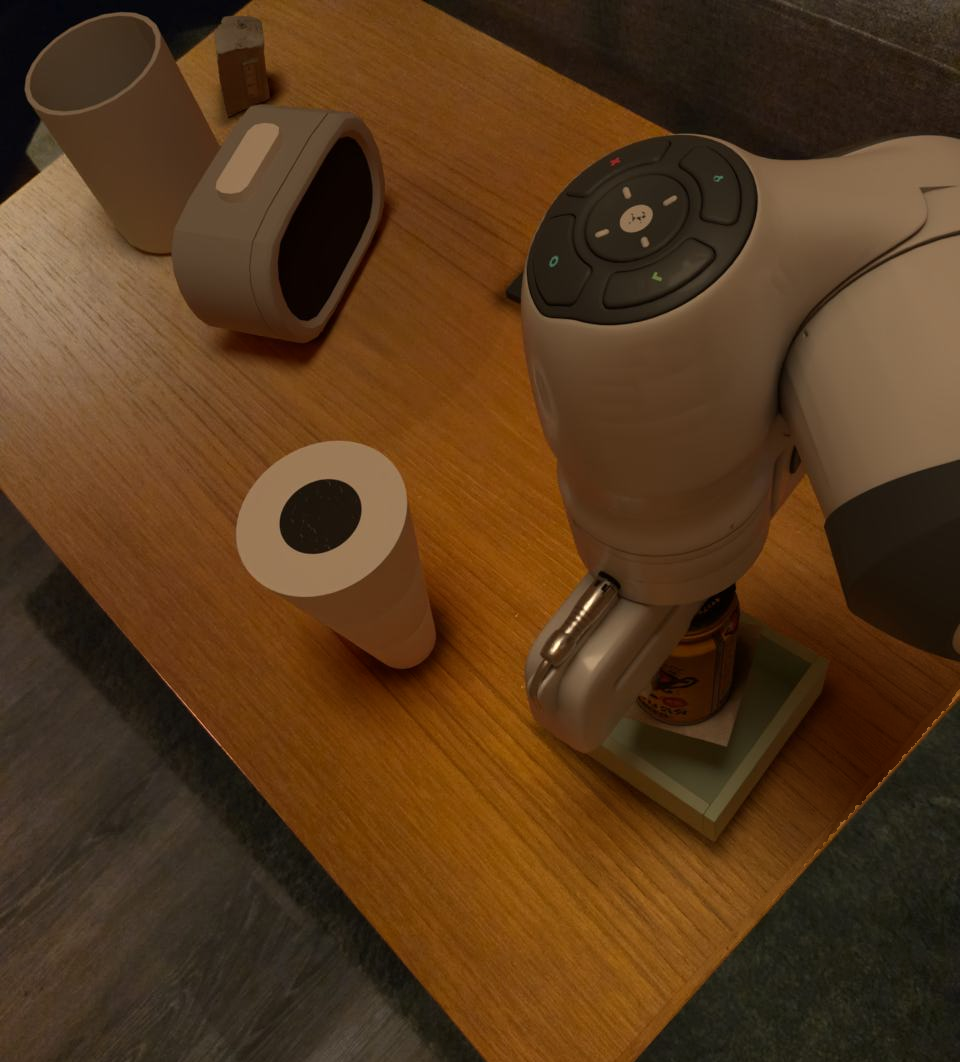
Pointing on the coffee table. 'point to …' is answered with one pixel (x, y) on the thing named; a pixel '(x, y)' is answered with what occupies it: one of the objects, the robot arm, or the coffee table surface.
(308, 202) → the alarm clock
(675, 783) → the tray
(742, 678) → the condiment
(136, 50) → the cup
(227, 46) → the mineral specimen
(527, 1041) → the coffee table surface
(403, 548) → the cup
